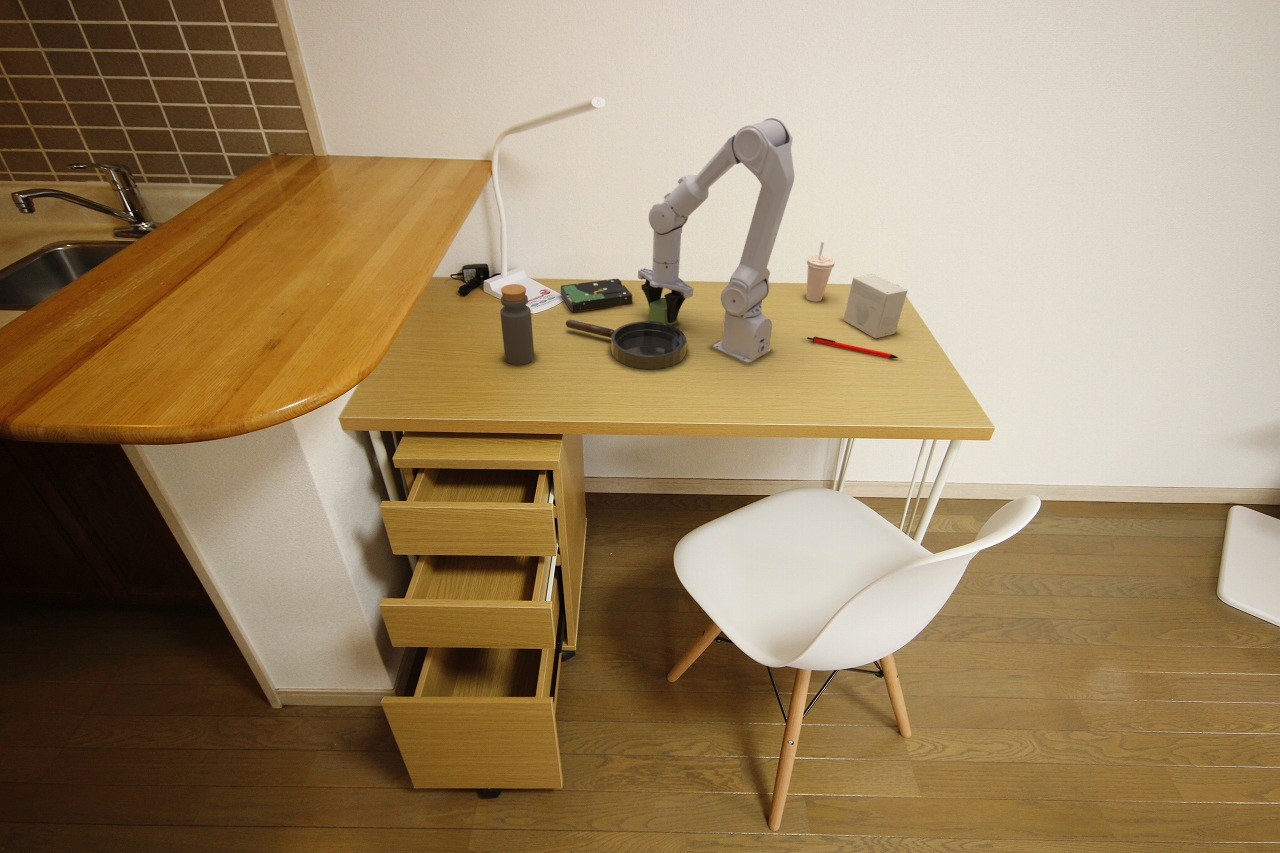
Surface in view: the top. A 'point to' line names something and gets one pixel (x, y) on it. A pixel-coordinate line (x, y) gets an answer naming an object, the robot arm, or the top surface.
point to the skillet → (648, 345)
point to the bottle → (516, 325)
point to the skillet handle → (589, 328)
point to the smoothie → (818, 275)
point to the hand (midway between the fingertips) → (663, 317)
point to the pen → (851, 347)
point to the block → (659, 312)
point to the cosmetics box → (874, 305)
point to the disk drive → (595, 295)
